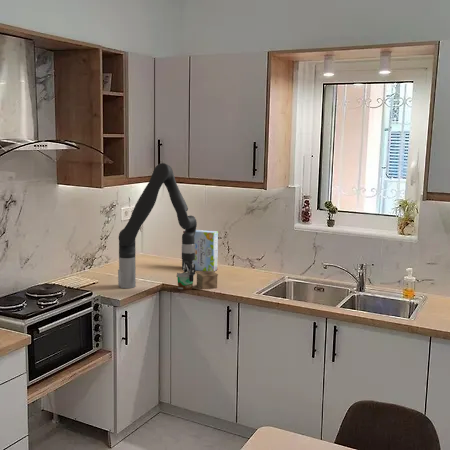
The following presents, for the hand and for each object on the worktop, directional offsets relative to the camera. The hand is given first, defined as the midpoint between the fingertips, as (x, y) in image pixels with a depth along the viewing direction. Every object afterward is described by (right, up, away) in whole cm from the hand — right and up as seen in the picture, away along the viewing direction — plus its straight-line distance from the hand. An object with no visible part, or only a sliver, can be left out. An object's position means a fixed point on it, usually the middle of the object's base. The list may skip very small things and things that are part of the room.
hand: (188, 279), depth 320 cm
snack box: (+5, +2, +49) cm, 50 cm away
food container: (0, -6, 0) cm, 6 cm away
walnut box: (+10, -5, +6) cm, 13 cm away
